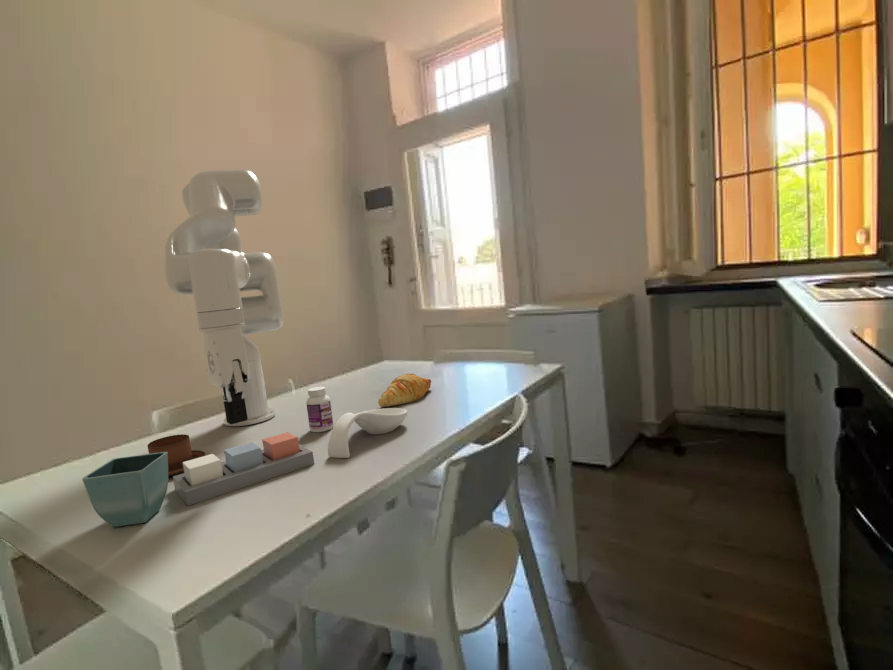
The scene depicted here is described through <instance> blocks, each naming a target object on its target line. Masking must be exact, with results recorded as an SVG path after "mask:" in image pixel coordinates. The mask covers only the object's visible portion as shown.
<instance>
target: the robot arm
mask: <svg viewBox="0 0 893 670" xmlns="http://www.w3.org/2000/svg"><path fill="white" fill-rule="evenodd" d="M181 196H182V197H181V198H182V200H183V201H182V202H183V204H184V207H185V208H186V211H187V213H188V215H189V217H188V218H186V219H184V221H182V222H181V223H180V224H178V226H177V227H176V228H174V230H173V231H172V232H171V233H170V234H169V236H168V237H167V239H166V241H165V246H164V274H165V276H164V277H165V280H166V282H167V286H168V287H169V289H170V290H171V291H172V292H173V293H175V294H177V295H181V296H191V295H192V296H193V302H194V306H195V312H196V319H197V325H198V331H199V333H200V332H201V333H202V332H203V346H204V356H205V357H204V358H205V365H206V366H205V367H206V373H207V374H206V375H207V380H208V382H209V383H210V384H211V385H214V386H216V387H218V388H220V389H221V395H222V399H223V405H224V406H223V407H224V411H225V418H224V419H223V424H224V426H227V427H245V426H249V425H255V424H259V423H262V422H263V423H264V422H266V421H268V420H270V419H272V418H274V417H275V416H276V410H275V409H274V408H269V404H268V399H267V398H268V397H267V391H266V383H265V377H264V372H263V371H264V370H263V364H262V358H261V352H260V350H259V349H260V348H259V347H258V346H257V345H256V344H255V343H254V342H253V341H252V340H250V338H248V337H247V336H248V335H252V334H259V333H266V332H267V333H268V332H273V331H277V330H280V329H282V327H283V325H284V320H285V316H284V309H283V302H282V294H281V289H280V282H279V277H278V271H277V266H276V263H275V260H274V258H273V257H272V255H271V254H269V253H267V252H264V251H255V252H244V251H243V247H242V240H241V235H240V232H239V231H238V229H237V228H236V224H237V223H236V217H248V216H257V215H259V214H260V213H261V212H262V209H263V190H262V185H261V183H260V181H259V179H258V177H257V176H256V174H255V173H253V171H251V170H248V169H227V170H226V169H225V170H224V169H223V170H216V169H215V170H204V171H201V172H200V171H199V172H198V173H196V174H194V175H193V176H192V177H191V179H190V181H189V183H187V184H186V185H184V186H183V188H182V190H181ZM250 291H251V292H252V291H259V292H260V293H261V294H260V295H259V294H258V295H252V296H250V295H249V296H242V294H241V292H250Z"/></svg>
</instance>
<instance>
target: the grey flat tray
mask: <svg viewBox="0 0 893 670" xmlns="http://www.w3.org/2000/svg"><path fill="white" fill-rule="evenodd" d="M299 450H300V452H299V453H295V454H292V455H289V456H286V457H283V458H279V459H276V460H273V459H271V458H269V457H268V456H266V455H265V454H264V449H261V453H262V459H263V464H260V465H257V466H254V467H251V468H247V469H244V470H241V471H238V472H234V471H232V470H231V469H230V468H229V467H227V465H226V460H223V461H221V466H222V472H223V476H222V477H219V478H215V479H212V480H209V481H206V482H203V483H199V484H196V485H193V486H192V485H191V484H190V483H189V482H188V481H187V480H186V479H185V474H184V472H182V473H179V474H176V475H172V481H173V486H174V491H176V493H177V494H178V495H179V496H180V498H181V499H182V500H183V501H184V503H185V504H186V505H187V506H188V507H189V506H192V505H195V504H199V503H201V502H204V501H208V500H211V499H213V498H217V497H219V496H222V495H225V494H228V493H231V492H234V491H238V490H240V489H243V488H246V487H249V486H252V485H255V484H259V483H261V482H264V481H267V480H270V479H273V478H276V477H277V478H278V477H279V476H282V475H285V474H288V473H291V472H294V471H298V470H301V469H303V468H306V467H310V466H313V465H315V459H314V452H313V451H312V450H310V449H308V448H306V447H304V446H302V445H300V444H299Z"/></svg>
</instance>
